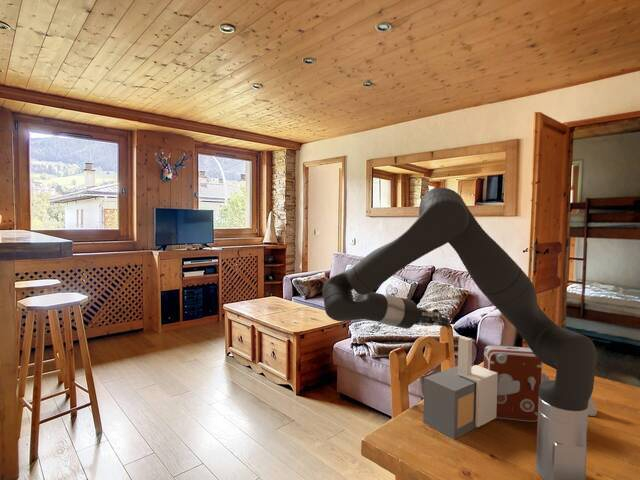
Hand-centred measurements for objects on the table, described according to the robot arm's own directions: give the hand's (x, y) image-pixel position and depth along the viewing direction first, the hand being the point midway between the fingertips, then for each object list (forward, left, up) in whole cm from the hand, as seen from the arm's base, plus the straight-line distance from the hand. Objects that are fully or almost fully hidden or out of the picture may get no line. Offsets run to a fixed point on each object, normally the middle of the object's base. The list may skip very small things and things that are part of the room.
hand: (446, 322), depth 101 cm
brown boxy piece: (+10, -23, -30) cm, 39 cm away
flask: (+17, -43, -30) cm, 55 cm away
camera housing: (+5, -5, -29) cm, 30 cm away
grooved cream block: (+5, -9, -28) cm, 30 cm away
